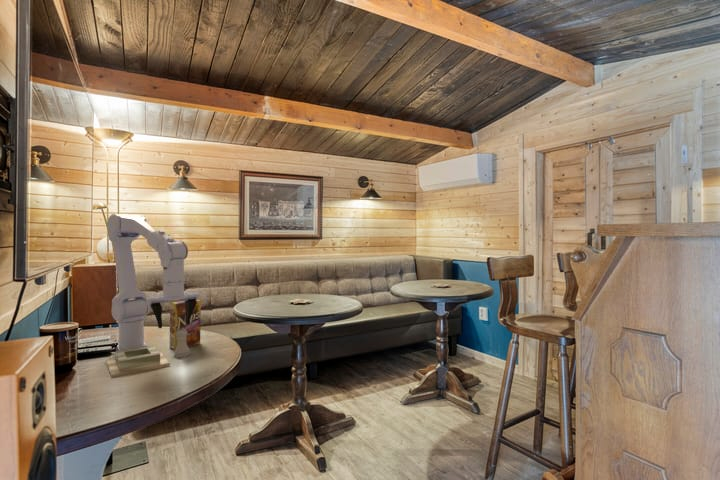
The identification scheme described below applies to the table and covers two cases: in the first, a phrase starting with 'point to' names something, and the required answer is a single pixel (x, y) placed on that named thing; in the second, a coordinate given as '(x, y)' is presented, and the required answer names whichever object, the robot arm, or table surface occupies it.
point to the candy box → (179, 323)
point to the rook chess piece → (181, 345)
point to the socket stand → (136, 361)
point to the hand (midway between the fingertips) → (174, 325)
